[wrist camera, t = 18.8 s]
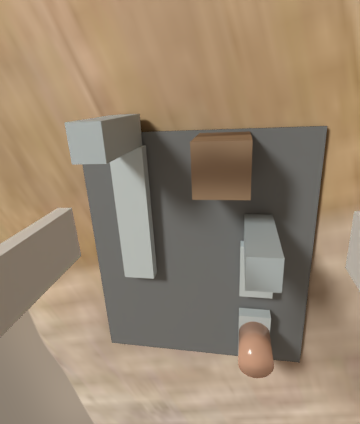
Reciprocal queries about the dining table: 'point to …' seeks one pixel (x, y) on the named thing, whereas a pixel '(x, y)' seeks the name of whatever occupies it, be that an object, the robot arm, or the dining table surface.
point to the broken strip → (259, 266)
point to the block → (221, 166)
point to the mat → (211, 244)
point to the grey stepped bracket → (121, 182)
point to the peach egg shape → (255, 350)
